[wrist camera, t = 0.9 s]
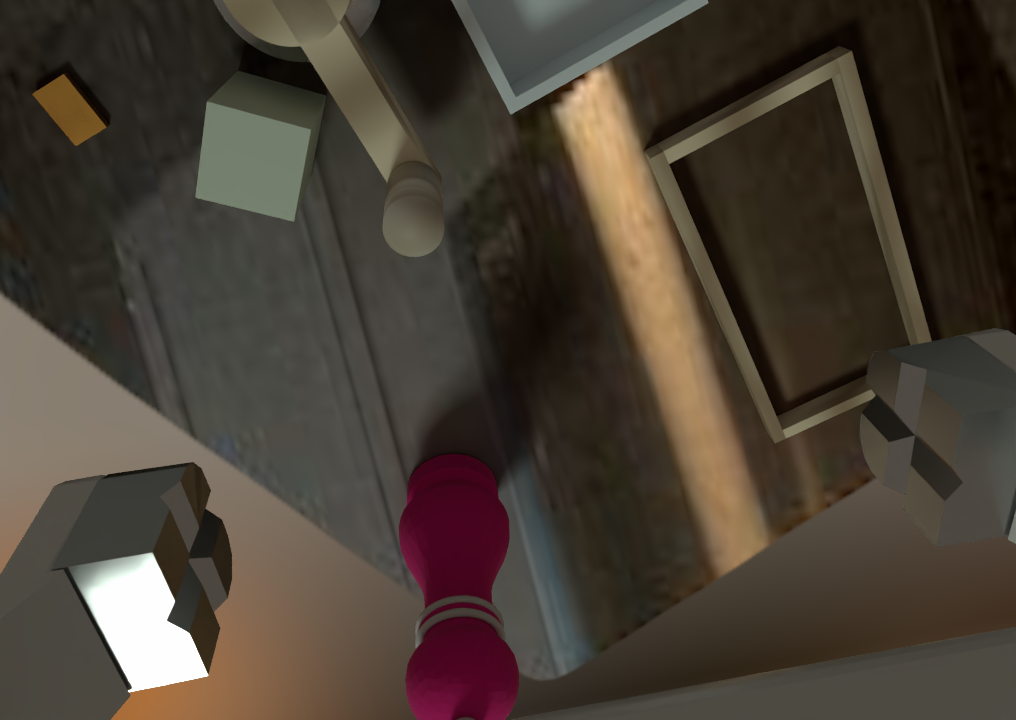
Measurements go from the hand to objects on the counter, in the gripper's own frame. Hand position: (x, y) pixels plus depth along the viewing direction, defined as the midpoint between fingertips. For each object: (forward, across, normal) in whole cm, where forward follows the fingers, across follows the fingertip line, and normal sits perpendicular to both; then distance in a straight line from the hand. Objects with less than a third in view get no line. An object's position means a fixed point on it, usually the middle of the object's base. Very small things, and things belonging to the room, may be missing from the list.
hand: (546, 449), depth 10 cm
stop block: (+36, +9, +3) cm, 38 cm away
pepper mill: (+37, +3, +29) cm, 47 cm away
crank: (+33, +4, 0) cm, 33 cm away
